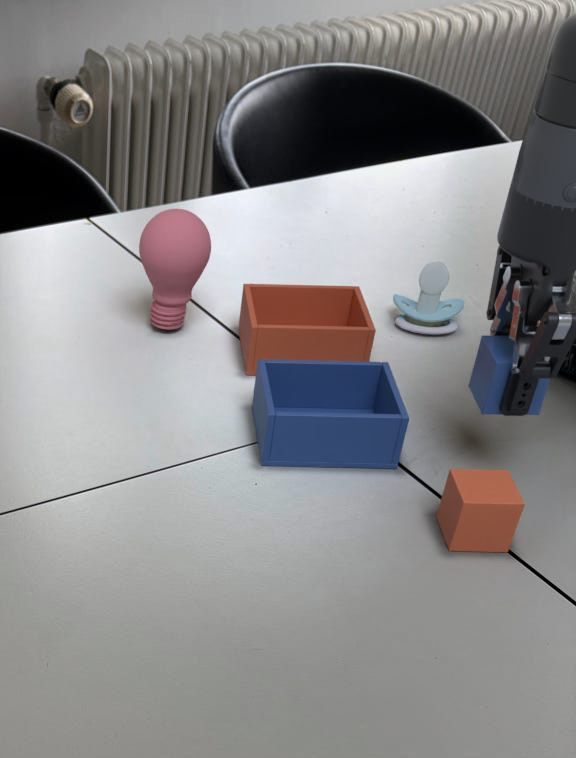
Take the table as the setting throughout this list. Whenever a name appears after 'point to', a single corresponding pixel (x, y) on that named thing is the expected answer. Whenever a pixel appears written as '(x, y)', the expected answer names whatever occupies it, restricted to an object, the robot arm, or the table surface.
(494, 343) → the blue block
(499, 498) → the terracotta block
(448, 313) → the pacifier
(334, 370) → the blue bin
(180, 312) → the light bulb
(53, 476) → the table surface
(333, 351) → the terracotta bin
